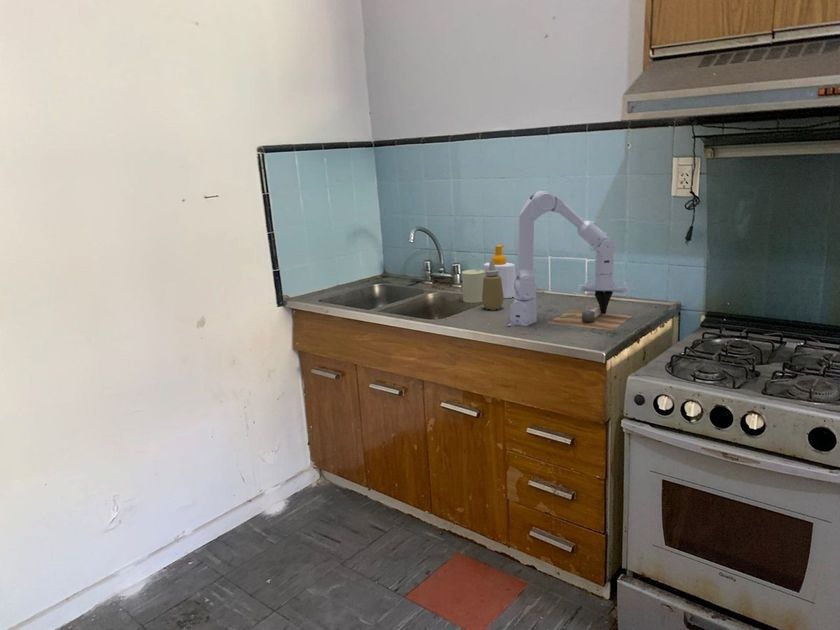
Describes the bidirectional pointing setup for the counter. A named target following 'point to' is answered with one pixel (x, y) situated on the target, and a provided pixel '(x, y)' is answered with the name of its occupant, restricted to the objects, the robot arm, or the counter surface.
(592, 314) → the peg
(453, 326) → the counter surface
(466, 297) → the can
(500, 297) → the squeeze bottle
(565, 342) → the counter surface
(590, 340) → the counter surface
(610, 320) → the board
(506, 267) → the soap bottle
